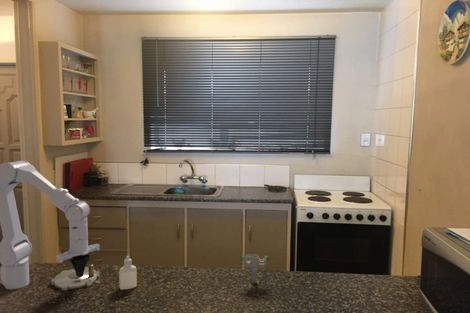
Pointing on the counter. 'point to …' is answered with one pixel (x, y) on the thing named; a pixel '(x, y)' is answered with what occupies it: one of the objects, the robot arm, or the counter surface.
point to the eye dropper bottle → (128, 275)
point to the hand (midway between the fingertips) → (79, 275)
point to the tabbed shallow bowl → (75, 278)
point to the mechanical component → (254, 263)
